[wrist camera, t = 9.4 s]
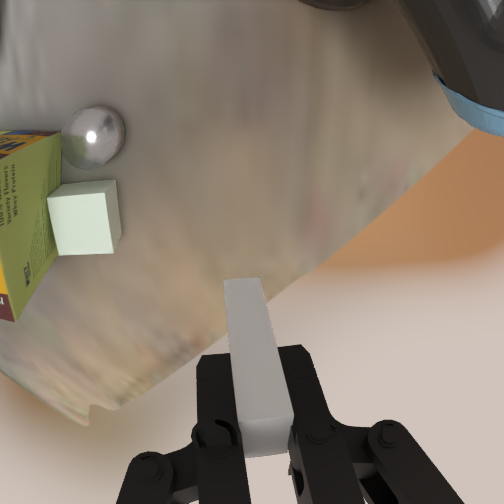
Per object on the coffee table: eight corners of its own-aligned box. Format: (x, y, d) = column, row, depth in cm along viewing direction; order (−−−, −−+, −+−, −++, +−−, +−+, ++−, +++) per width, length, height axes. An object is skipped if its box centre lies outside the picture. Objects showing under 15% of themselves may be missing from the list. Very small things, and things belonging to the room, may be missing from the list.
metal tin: (70, 111, 29) (56, 115, 26) (122, 101, 30) (113, 103, 27) (77, 164, 32) (65, 174, 29) (128, 156, 33) (120, 164, 30)
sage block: (63, 183, 33) (46, 198, 29) (115, 178, 34) (104, 192, 30) (72, 235, 37) (59, 255, 32) (122, 233, 38) (113, 253, 33)
